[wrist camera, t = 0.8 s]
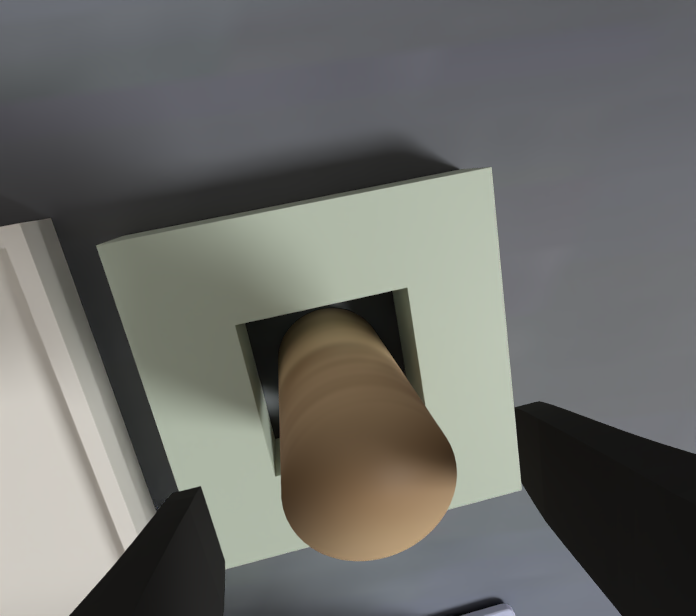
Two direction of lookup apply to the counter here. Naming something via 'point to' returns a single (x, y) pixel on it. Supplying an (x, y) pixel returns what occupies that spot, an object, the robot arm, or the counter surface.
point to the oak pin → (356, 442)
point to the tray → (57, 437)
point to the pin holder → (305, 293)
